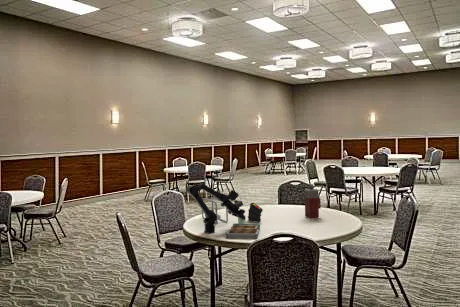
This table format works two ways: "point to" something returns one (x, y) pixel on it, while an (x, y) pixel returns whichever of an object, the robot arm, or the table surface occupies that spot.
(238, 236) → the grey shallow box
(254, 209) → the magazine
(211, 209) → the newton's cradle
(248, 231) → the tray
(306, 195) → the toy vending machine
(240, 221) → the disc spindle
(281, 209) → the table surface
